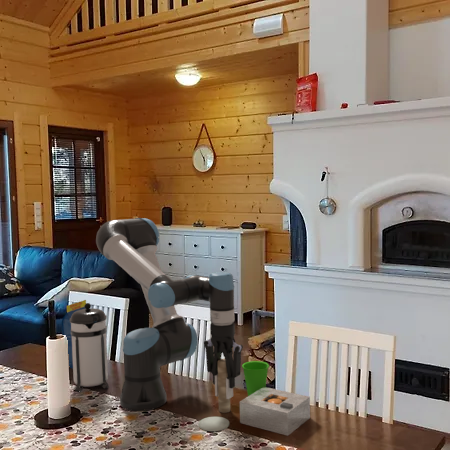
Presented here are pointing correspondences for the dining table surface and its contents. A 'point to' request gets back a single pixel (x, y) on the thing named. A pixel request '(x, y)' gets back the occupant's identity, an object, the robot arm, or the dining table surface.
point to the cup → (255, 375)
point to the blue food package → (67, 326)
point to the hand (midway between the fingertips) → (224, 396)
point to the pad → (213, 424)
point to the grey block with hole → (275, 410)
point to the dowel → (222, 387)
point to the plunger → (275, 401)
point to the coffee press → (89, 347)
